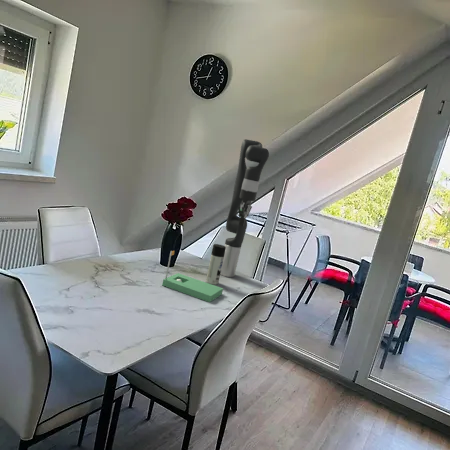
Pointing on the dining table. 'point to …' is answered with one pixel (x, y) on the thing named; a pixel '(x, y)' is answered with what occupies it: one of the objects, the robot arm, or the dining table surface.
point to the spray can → (215, 264)
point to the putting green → (192, 286)
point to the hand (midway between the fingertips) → (241, 225)
